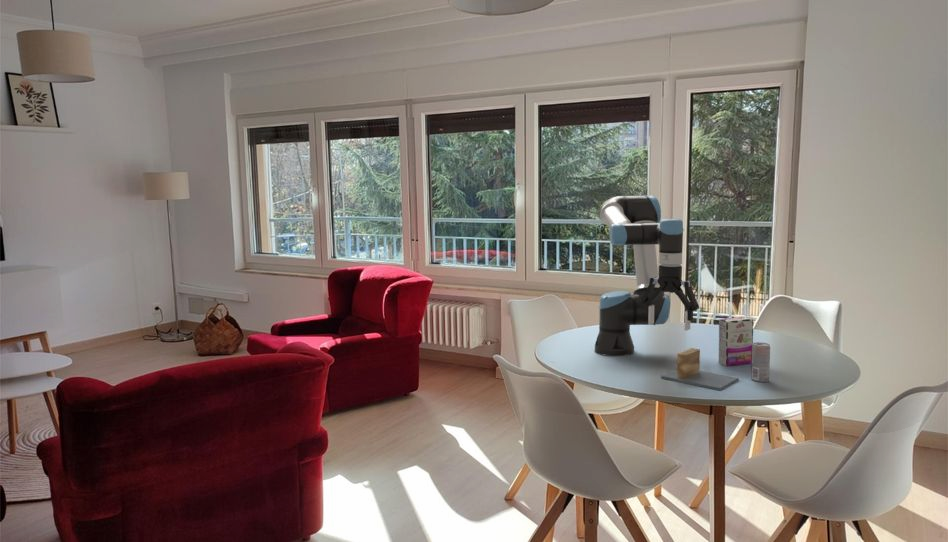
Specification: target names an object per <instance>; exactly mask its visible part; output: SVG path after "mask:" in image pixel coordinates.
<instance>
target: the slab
mask: <svg viewBox="0 0 948 542" xmlns="http://www.w3.org/2000/svg"><path fill="white" fill-rule="evenodd" d="M676 354H677V355H676V356H677V360H676V362H677V363H676V364H677V365H676V366H677V367H676V369H677V377H678V378H683V379H687V378H689V377H691V376H693V375H695V374H697V373H699V370H700V361H701V360H700V359H701V358H700V355H701V350H700V348H699V349H698V348H694V347H690V348H688V349H686V350H683V351H680V352H679V353H676Z"/></svg>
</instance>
